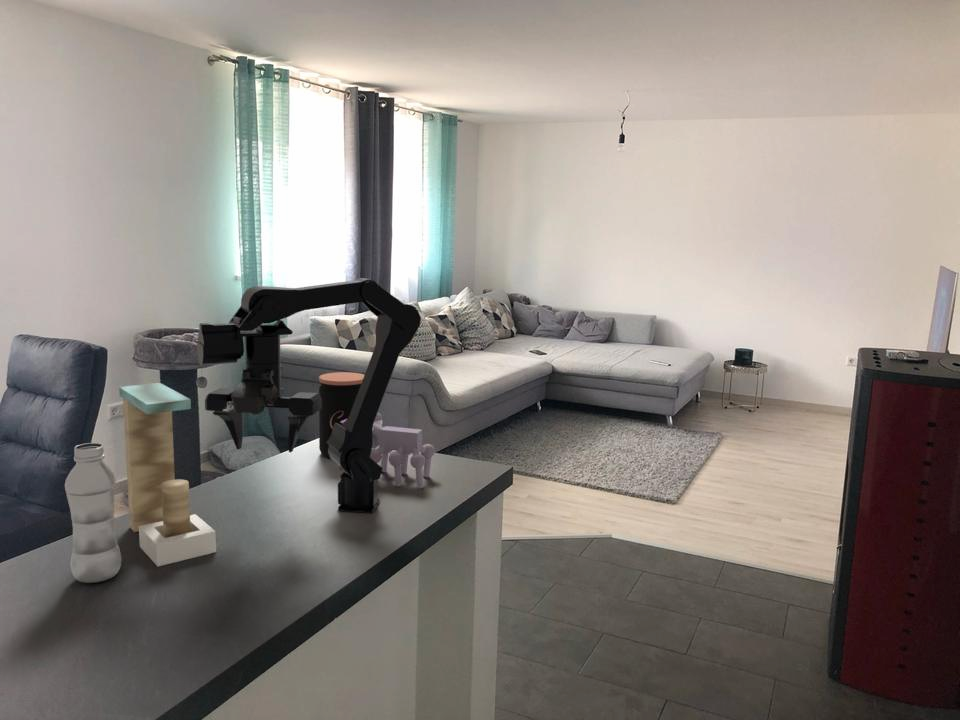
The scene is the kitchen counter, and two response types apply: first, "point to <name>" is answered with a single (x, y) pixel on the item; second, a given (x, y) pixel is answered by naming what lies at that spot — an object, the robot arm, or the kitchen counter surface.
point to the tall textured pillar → (149, 447)
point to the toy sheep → (401, 450)
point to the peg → (175, 507)
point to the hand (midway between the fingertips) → (264, 450)
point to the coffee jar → (336, 402)
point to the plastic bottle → (92, 516)
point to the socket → (177, 542)
